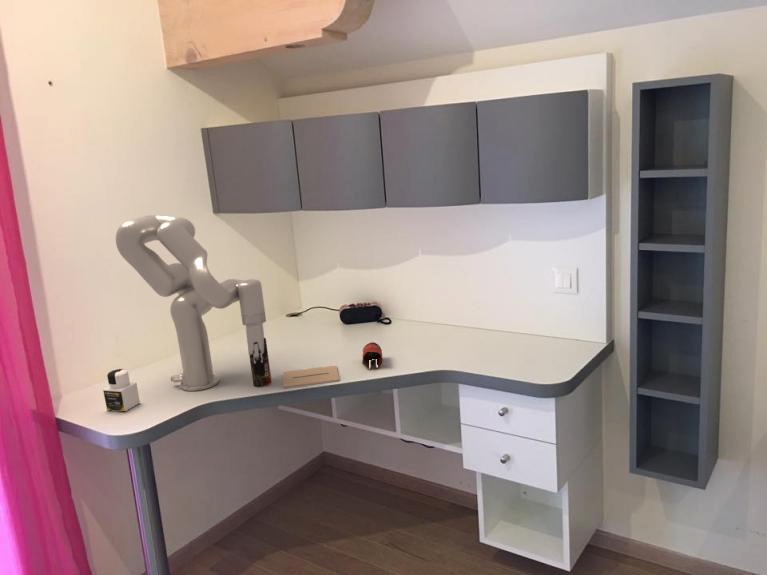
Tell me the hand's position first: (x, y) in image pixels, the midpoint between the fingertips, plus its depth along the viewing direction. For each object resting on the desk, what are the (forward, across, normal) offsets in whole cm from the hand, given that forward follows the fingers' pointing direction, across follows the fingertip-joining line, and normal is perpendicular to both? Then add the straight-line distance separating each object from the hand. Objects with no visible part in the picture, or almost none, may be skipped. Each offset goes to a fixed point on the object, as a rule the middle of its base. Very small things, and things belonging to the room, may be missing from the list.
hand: (260, 370), depth 214 cm
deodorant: (+5, 0, 0) cm, 5 cm away
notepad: (+5, 0, +16) cm, 17 cm away
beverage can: (+5, -5, +38) cm, 38 cm away
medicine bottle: (+5, +5, -43) cm, 44 cm away
